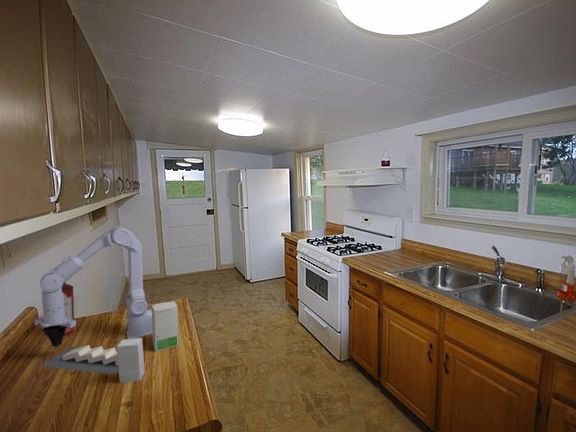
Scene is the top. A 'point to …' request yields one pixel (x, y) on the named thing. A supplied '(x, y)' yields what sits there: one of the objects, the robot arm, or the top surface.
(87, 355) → the domino
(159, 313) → the skincare box
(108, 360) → the domino
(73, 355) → the domino
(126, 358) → the skincare box
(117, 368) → the runner mat
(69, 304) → the liquor
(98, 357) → the domino
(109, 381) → the top surface
